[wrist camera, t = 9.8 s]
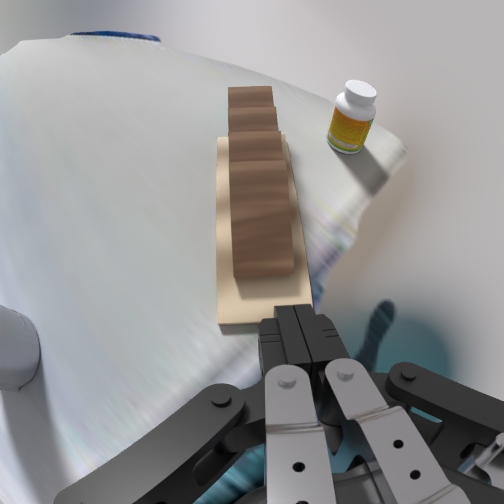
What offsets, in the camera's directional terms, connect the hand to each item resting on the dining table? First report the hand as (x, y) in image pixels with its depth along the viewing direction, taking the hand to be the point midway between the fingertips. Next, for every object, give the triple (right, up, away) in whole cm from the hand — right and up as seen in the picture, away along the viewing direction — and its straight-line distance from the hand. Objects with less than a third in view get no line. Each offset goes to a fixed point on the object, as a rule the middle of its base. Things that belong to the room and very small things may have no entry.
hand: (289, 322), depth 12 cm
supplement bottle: (+11, +18, +25) cm, 33 cm away
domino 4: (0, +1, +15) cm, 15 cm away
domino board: (-1, +7, +20) cm, 21 cm away
